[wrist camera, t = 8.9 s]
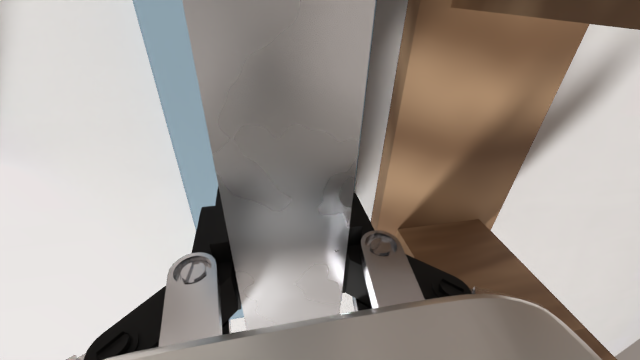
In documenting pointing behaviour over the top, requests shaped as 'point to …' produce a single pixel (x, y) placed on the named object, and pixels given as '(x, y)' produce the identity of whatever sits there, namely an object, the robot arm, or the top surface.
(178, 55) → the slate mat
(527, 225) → the top surface
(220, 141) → the aluminium rail
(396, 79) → the cradle stand
